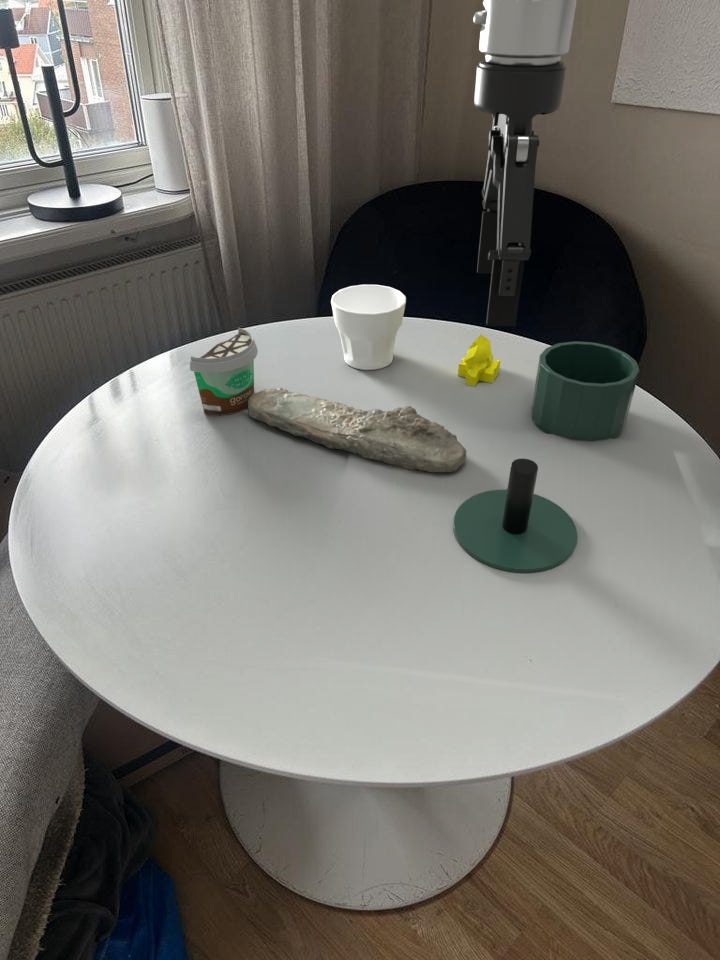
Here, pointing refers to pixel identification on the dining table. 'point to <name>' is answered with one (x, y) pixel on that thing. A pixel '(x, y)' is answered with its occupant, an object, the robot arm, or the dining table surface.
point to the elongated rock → (362, 430)
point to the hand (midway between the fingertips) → (494, 296)
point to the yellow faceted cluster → (479, 363)
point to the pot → (583, 391)
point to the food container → (226, 374)
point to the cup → (368, 323)
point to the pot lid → (515, 525)
